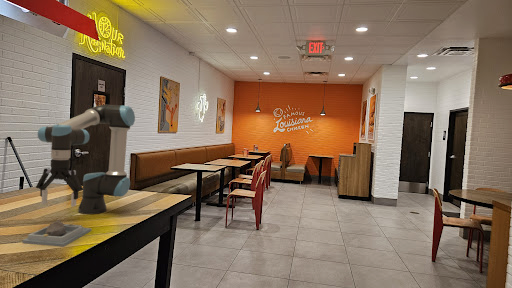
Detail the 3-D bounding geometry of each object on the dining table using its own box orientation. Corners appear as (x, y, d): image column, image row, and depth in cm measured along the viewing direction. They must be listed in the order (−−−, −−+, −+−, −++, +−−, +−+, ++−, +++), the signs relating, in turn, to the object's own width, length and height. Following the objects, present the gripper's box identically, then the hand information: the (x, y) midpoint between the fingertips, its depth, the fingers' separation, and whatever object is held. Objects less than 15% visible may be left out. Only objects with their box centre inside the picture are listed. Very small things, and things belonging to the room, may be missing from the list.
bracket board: (55, 227, 160) (56, 219, 160) (91, 230, 159) (91, 222, 159) (22, 243, 138) (22, 233, 138) (63, 246, 137) (64, 237, 137)
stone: (44, 238, 141) (45, 225, 141) (45, 232, 150) (46, 219, 150) (66, 236, 145) (66, 224, 145) (65, 230, 154) (66, 218, 154)
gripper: (27, 157, 142) (26, 204, 143) (83, 161, 141) (81, 209, 142) (39, 155, 149) (38, 200, 150) (92, 160, 149) (90, 205, 150)
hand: (58, 205), depth 146 cm, fingers open, 13 cm apart
